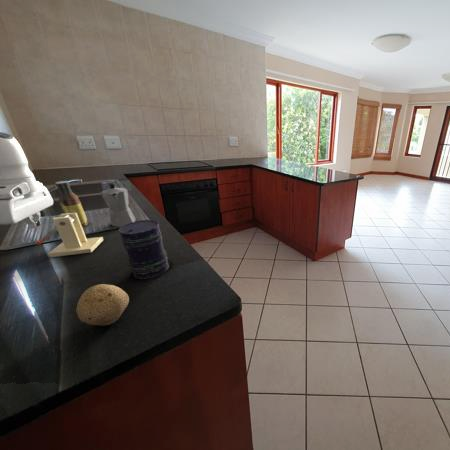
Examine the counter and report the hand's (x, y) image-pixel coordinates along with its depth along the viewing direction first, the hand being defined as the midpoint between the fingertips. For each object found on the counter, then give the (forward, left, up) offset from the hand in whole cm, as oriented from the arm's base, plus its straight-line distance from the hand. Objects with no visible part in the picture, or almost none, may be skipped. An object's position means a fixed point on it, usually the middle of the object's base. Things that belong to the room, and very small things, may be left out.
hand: (35, 226), depth 80 cm
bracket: (+9, 0, -10) cm, 13 cm away
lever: (+6, 0, -3) cm, 6 cm away
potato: (+34, -44, -10) cm, 56 cm away
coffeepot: (+16, +24, -10) cm, 31 cm away
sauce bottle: (-1, +24, -10) cm, 26 cm away
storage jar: (+38, -23, -10) cm, 45 cm away
